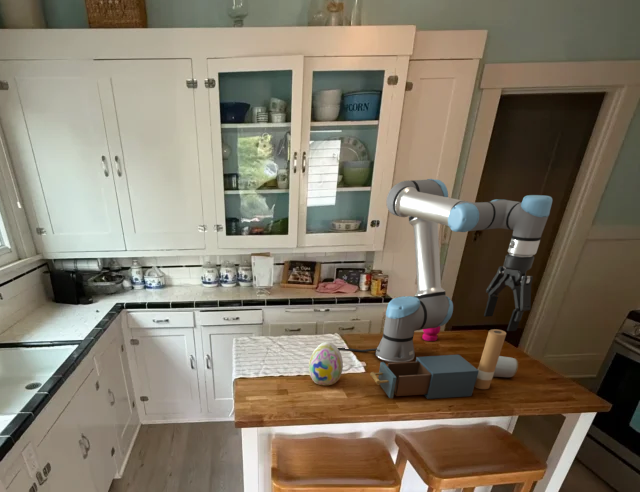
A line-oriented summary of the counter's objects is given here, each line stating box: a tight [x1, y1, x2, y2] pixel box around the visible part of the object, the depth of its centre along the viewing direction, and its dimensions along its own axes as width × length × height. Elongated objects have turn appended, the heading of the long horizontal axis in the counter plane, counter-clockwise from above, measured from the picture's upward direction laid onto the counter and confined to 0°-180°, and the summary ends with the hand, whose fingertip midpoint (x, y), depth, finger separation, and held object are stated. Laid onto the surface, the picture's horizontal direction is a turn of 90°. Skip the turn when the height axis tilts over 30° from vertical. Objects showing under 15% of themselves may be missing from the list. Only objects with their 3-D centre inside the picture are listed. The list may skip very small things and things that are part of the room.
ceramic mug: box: [493, 355, 519, 378], centre depth 157 cm, size 11×8×8 cm
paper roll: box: [474, 328, 507, 390], centre depth 146 cm, size 5×5×20 cm
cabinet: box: [415, 354, 479, 400], centre depth 148 cm, size 16×14×10 cm
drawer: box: [369, 360, 432, 399], centre depth 147 cm, size 19×12×8 cm, turn 95°
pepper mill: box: [422, 326, 441, 342], centre depth 184 cm, size 7×7×20 cm
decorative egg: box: [308, 341, 344, 387], centre depth 154 cm, size 12×12×15 cm
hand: (499, 323), depth 139 cm, fingers open, 13 cm apart
